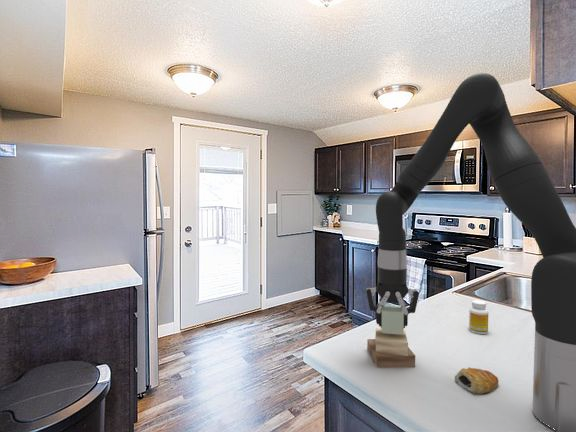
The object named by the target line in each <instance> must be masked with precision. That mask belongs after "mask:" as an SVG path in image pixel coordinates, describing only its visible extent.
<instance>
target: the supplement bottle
mask: <svg viewBox="0 0 576 432" xmlns="http://www.w3.org/2000/svg"><path fill="white" fill-rule="evenodd" d="M468 313H469V315H468V329H469V331H470V332H471V333H474V334H477V335H486V334H488V333H489V310H488V309H487V302H485V301H484V300H476V299H475V300H472V301H471V306H470V308H469V311H468Z"/></svg>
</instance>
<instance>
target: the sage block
mask: <svg viewBox="0 0 576 432" xmlns="http://www.w3.org/2000/svg"><path fill="white" fill-rule="evenodd" d="M381 314H382V326H380V328H381V331H382V333H387V334H402V335H404V330H405V328H404V312H403V311H402V308H401V306H400V304H399V305H397V304H396V305H395V304H385V306H384V307H383V309H382V311H381Z"/></svg>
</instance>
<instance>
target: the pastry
mask: <svg viewBox="0 0 576 432" xmlns="http://www.w3.org/2000/svg"><path fill="white" fill-rule="evenodd" d="M454 380H455V381H456V383H457V384H458V386H461V387H463V388H465V389H466V390H468V391H469V392H471V393H474V394H478V395H480V394H481V395H483V394H485V393H491V392H492V391H493V390H495V389H496V388H497V387H498V385H499V378H498V376H496V375H495V374H494V373H492V372H491V371H489V370H486V369H481V368H475V367H467V368H461V369H460V370H459V371H458V372H457V373H456V374H455V375H454Z"/></svg>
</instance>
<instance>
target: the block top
mask: <svg viewBox="0 0 576 432" xmlns="http://www.w3.org/2000/svg"><path fill="white" fill-rule="evenodd" d="M374 339H375V341H376V352H377V353H385V354H394V355H403V356H408V347H409V341H408V338H407V333H406V330H405V329H404V335H402V334H387V333H382V331H381V327H375V338H374Z"/></svg>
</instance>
